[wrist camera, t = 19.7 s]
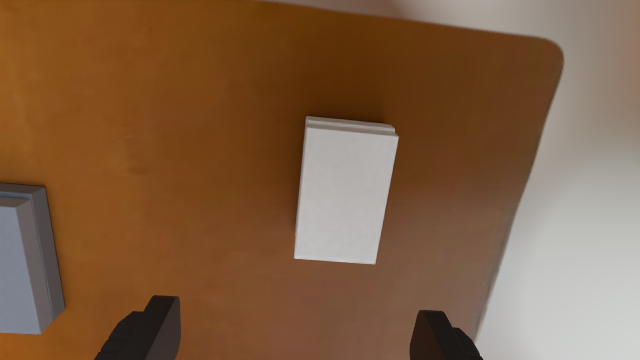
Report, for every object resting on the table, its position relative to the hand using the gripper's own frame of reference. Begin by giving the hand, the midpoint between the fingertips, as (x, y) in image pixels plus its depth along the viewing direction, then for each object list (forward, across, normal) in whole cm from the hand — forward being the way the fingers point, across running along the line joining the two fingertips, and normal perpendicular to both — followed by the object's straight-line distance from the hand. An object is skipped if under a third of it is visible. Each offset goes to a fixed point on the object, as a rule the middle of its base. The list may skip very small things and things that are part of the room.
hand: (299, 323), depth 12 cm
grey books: (+18, +23, +10) cm, 31 cm away
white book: (+15, -3, +1) cm, 15 cm away
